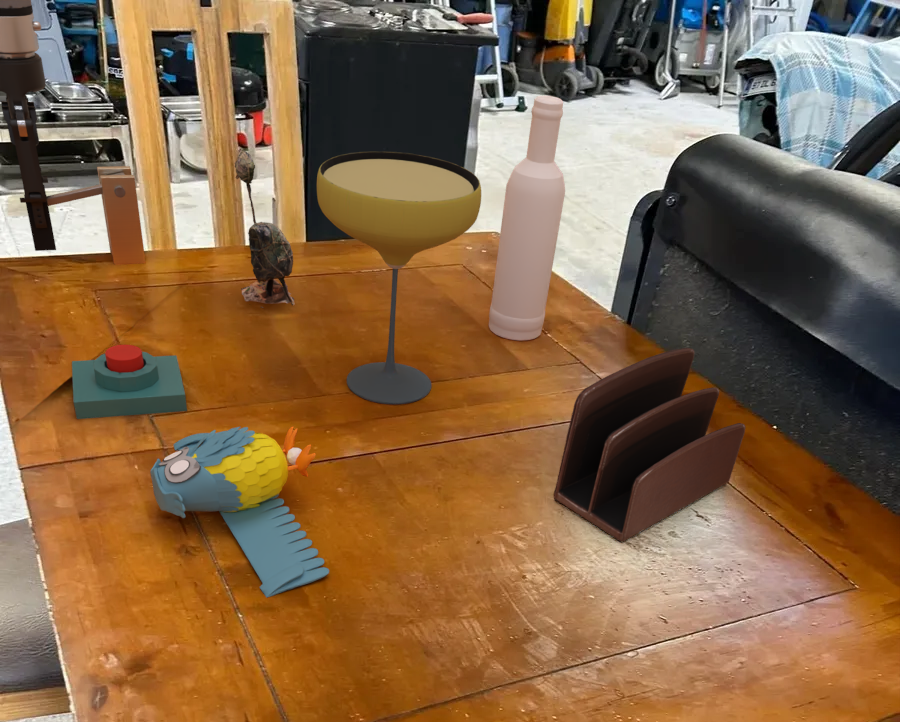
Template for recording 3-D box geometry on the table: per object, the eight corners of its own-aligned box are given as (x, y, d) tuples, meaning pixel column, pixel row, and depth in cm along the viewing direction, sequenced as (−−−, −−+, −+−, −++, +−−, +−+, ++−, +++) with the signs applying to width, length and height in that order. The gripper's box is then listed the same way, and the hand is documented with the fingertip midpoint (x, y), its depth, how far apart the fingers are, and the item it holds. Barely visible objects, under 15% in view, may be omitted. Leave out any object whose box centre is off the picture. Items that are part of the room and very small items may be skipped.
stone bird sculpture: (255, 323, 122) (248, 169, 109) (230, 291, 129) (220, 143, 116) (311, 317, 125) (310, 166, 112) (283, 286, 133) (279, 141, 120)
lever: (36, 220, 120) (29, 202, 119) (34, 206, 124) (27, 189, 123) (133, 198, 123) (127, 180, 122) (128, 185, 127) (122, 168, 125)
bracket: (89, 284, 127) (72, 182, 118) (84, 261, 133) (66, 162, 124) (176, 280, 131) (165, 181, 122) (166, 257, 137) (155, 161, 128)
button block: (77, 419, 99) (70, 387, 97) (75, 377, 106) (68, 346, 104) (187, 411, 103) (183, 379, 100) (178, 371, 110) (174, 341, 107)
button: (108, 375, 100) (105, 361, 99) (106, 359, 103) (104, 345, 102) (145, 373, 102) (143, 359, 100) (142, 357, 104) (140, 343, 103)
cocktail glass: (486, 382, 115) (512, 179, 99) (405, 436, 103) (420, 214, 87) (375, 339, 122) (383, 141, 106) (287, 384, 110) (281, 170, 94)
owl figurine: (366, 493, 78) (198, 537, 72) (365, 569, 84) (209, 615, 78) (252, 357, 96) (109, 383, 90) (258, 427, 102) (124, 456, 95)
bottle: (525, 346, 125) (563, 109, 105) (477, 330, 127) (506, 96, 108) (551, 329, 130) (591, 100, 111) (504, 313, 133) (535, 87, 113)
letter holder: (551, 499, 96) (575, 381, 87) (661, 446, 107) (692, 336, 98) (621, 545, 91) (655, 424, 82) (729, 484, 102) (769, 371, 93)
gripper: (45, 69, 105) (78, 265, 120) (36, 37, 117) (67, 218, 133) (-25, 67, 102) (18, 267, 117) (-27, 35, 115) (12, 219, 130)
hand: (44, 241), depth 125 cm, fingers closed on lever, 5 cm apart
